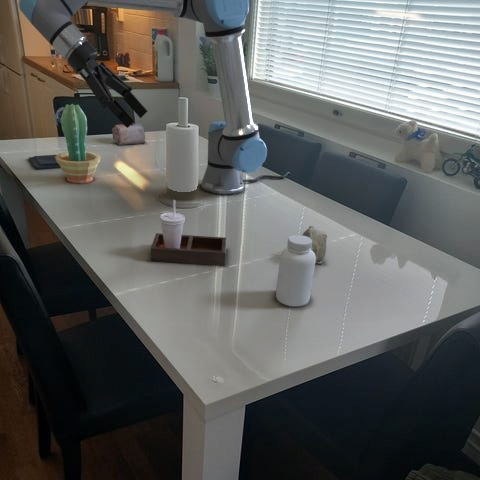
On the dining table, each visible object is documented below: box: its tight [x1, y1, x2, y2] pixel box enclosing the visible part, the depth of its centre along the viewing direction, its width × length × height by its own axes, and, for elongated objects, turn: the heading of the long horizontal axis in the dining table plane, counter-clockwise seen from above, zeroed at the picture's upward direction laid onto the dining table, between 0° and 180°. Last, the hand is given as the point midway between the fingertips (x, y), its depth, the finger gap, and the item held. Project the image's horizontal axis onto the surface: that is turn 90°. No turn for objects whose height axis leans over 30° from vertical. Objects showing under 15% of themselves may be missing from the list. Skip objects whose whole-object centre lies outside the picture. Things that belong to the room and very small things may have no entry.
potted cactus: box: [54, 103, 101, 184], centre depth 174 cm, size 15×15×25 cm
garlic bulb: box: [301, 225, 328, 264], centre depth 134 cm, size 9×8×10 cm
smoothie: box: [159, 199, 186, 249], centre depth 129 cm, size 6×6×14 cm
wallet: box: [28, 154, 61, 170], centre depth 196 cm, size 20×2×15 cm
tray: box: [150, 232, 227, 266], centre depth 132 cm, size 10×19×4 cm, turn 90°
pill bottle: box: [275, 234, 316, 307], centre depth 113 cm, size 8×8×15 cm
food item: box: [111, 122, 146, 146], centre depth 227 cm, size 14×8×10 cm, turn 122°
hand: (138, 119), depth 133 cm, fingers open, 13 cm apart
